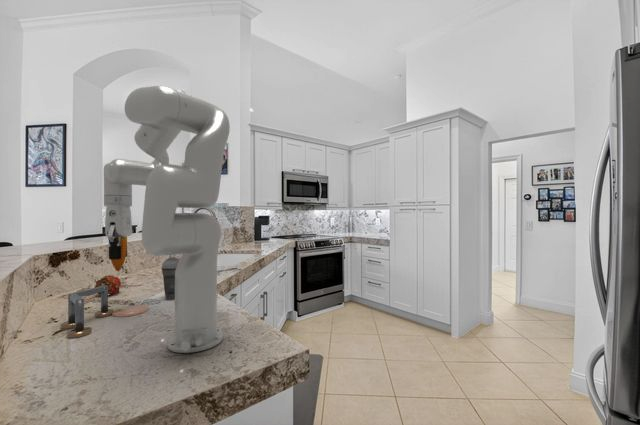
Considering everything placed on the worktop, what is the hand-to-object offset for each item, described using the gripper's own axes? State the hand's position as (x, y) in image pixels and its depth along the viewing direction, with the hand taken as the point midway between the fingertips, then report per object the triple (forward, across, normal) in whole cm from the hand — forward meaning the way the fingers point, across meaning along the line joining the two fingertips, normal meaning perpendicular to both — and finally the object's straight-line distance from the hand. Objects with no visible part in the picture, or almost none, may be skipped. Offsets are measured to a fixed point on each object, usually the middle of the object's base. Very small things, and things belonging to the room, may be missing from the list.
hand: (118, 257), depth 93 cm
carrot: (+5, 0, 0) cm, 5 cm away
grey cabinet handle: (+18, -8, +6) cm, 21 cm away
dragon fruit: (+18, +29, +12) cm, 36 cm away
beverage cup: (+18, +14, -13) cm, 26 cm away
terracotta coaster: (+18, +1, -3) cm, 18 cm away
